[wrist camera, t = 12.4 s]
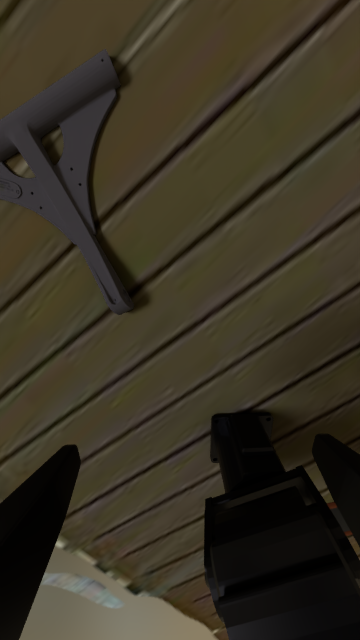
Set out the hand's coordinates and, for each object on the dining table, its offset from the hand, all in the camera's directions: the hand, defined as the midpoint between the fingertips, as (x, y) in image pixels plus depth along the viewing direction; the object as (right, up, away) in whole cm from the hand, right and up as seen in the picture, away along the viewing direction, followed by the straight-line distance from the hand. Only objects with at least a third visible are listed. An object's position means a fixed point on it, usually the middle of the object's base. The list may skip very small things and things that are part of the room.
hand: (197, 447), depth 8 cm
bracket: (-9, +12, +9) cm, 18 cm away
